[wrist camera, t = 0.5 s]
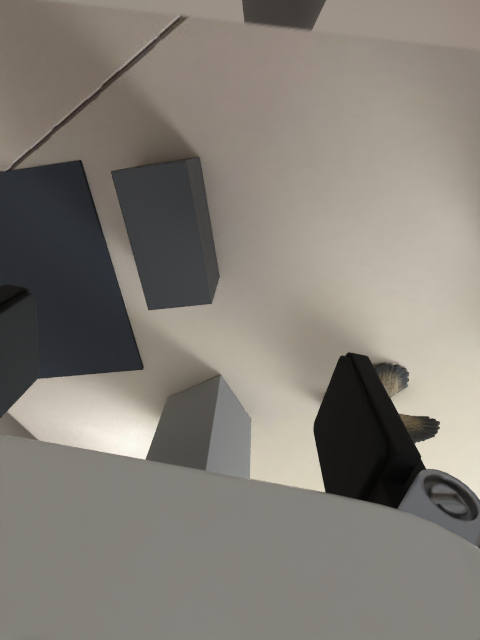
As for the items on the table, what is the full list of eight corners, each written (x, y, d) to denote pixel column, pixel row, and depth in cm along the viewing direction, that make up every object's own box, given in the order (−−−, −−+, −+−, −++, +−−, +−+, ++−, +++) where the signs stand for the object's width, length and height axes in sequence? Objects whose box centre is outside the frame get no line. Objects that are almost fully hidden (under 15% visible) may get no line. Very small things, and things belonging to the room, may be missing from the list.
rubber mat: (-78, 184, 30) (-81, 184, 29) (81, 160, 28) (79, 160, 28) (19, 378, 38) (17, 380, 38) (143, 367, 37) (142, 369, 37)
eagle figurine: (365, 450, 39) (445, 419, 35) (348, 482, 33) (441, 450, 29) (328, 389, 41) (399, 352, 36) (304, 409, 35) (386, 368, 30)
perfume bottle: (199, 439, 41) (162, 628, 25) (167, 397, 39) (103, 579, 23) (251, 419, 40) (246, 609, 23) (220, 374, 37) (192, 553, 21)
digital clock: (136, 166, 28) (108, 171, 23) (199, 156, 28) (185, 160, 22) (164, 283, 33) (146, 310, 27) (219, 277, 32) (211, 304, 27)
